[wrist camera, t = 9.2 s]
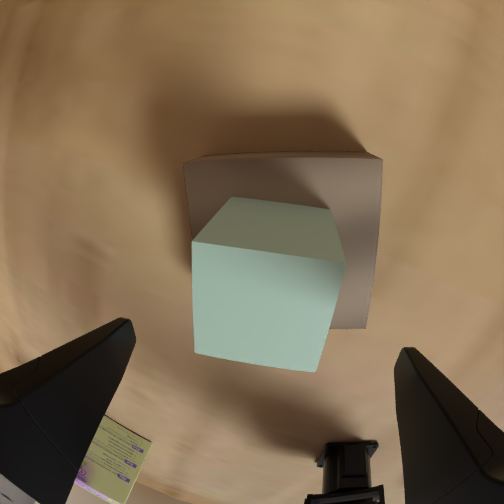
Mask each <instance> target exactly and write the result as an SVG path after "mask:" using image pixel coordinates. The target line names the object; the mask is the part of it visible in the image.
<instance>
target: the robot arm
mask: <svg viewBox="0 0 504 504" xmlns="http://www.w3.org/2000/svg"><path fill="white" fill-rule="evenodd" d="M135 343H136V336H135V332H134V328H133V325H132V322H131V320H130V319H127V318H122V317H120V318H117V319H115V320H113V321H111V322H109V323H107V324H105V325H103V326H101V327H99V328H97V329H95V330H93V331H91V332H89V333H87V334H85V335H83V336H81V337H78V338H76V339H74V340H72V341H70V342H68V343H66V344H64V345H62V346H60V347H58V348H56V349H54V350H52V351H50V352H48V353H46V354H44V355H42V356H41V357H38V358H36V359H34V360H31V361H29V362H27V363H25V364H23V365H21V366H18V367H16V368H13V369H11V370H8V371H6V372H3V373H1V374H0V504H35V502H36V501H37V502H38V503H40V504H65V503H66V501H67V498H68V496H69V493H70V491H71V489H72V486H73V483H74V481H75V479H76V477H77V474H78V472H79V469H80V467H81V465H82V462H83V460H84V458H85V456H86V453H87V451H88V449H89V447H90V445H91V442H92V440H93V438H94V436H95V434H96V431H97V429H98V427H99V425H100V423H101V421H102V419H103V417H104V414H105V412H106V410H107V408H108V406H109V404H110V402H111V400H112V398H113V396H114V394H115V392H116V390H117V388H118V386H119V384H120V382H121V380H122V377H123V375H124V373H125V370H126V367H127V364H128V362H129V359H130V356H131V354H132V351H133V349H134V346H135ZM394 381H395V400H396V415H397V422H398V429H399V437H400V445H401V454H402V464H403V475H404V489H405V504H504V432H503V431H502V430H501V429H499V428H498V427H497V426H496V425H495V424H494V423H493V422H492V421H491V420H490V419H489V418H488V417H487V416H486V415H485V414H484V413H483V412H482V411H481V410H478V408H477V407H476V406H475V405H474V404H473V403H472V402H471V401H470V400H469V399H468V398H467V397H466V396H465V395H464V394H463V393H462V392H461V391H460V390H459V389H458V388H457V387H456V386H455V385H454V384H453V383H452V382H451V381H450V380H449V379H448V378H447V377H446V376H445V375H444V374H442V373H441V372H440V371H439V370H438V369H437V368H436V367H435V366H434V365H433V364H432V363H431V362H430V361H429V360H428V359H427V358H426V357H424V356H423V355H422V354H421V353H420V352H419V351H418V350H417V349H416V348H414V347H404V348H402V350H401V352H400V354H399V357H398V359H397V361H396V364H395V367H394ZM378 447H379V445H378V443H377V442H374V443H328V444H326V445H325V447H324V449H323V452H322V454H321V456H320V458H319V460H318V462H317V467H323V488H322V494H315V495H313V494H308V495H307V498H306V499H305V502H304V504H385V500H384V487H383V485H379V486H376V487H371V468H370V458H371V457H372V455H373V454H374V452H375V451H376V450H377V448H378ZM378 500H379V502H377V501H378Z"/></svg>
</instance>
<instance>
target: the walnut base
mask: <svg viewBox="0 0 504 504" xmlns="http://www.w3.org/2000/svg"><path fill="white" fill-rule="evenodd" d="M382 165H383V159H381V158H379V157H376V156H374V155H372V154H370V153H368V152H344V151H280V152H253V153H235V154H220V155H207V156H202V157H199V158H197V159H194V160H191V161H189V162H186V163H183V169H184V178H185V186H186V195H187V203H188V210H189V218H190V225H191V233H192V240H193V239H194V238H195V237H196V236H197V235H198V234H199V232H200V231H201V230H202V229H203V228H204V227H205V226H206V225H207V223H208V222H209V221H210V220H211V219H212V218H213V217H214V216H215V214H216V213H217V212H218V211H219V210H220V209H221V208H222V207H223V206H224V204H225V203H226V202H227V201H228V200H229V199H230V198H231V197H241V198H250V199H258V200H266V201H274V202H282V203H289V204H296V205H304V206H311V207H317V208H324V209H331V212H332V215H333V219H334V222H335V225H336V229H337V232H338V235H339V239H340V242H341V246H342V249H343V253H344V256H345V260H346V267H345V271H344V275H343V279H342V283H341V287H340V291H339V295H338V299H337V302H336V306H335V310H334V313H333V317H332V320H331V324H330V327H329V329H366V324H367V318H368V312H369V306H370V300H371V294H372V287H373V280H374V272H375V264H376V255H377V246H378V236H379V224H380V210H381V193H382Z"/></svg>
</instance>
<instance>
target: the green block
mask: <svg viewBox="0 0 504 504" xmlns="http://www.w3.org/2000/svg"><path fill="white" fill-rule="evenodd" d="M345 267H346V260H345V256H344V253H343V249H342V246H341V242H340V239H339V235H338V232H337V229H336V225H335V222H334V219H333V215H332V212H331V209H324V208H317V207H311V206H304V205H296V204H289V203H282V202H274V201H266V200H258V199H250V198H241V197H231V198H230V199H229V200H228V201H227V202H226V203H225V204H224V206H223V207H222V208H221V209H220V210H219V211H218V212H217V213H216V214H215V216H214V217H213V218H212V219H211V220H210V221H209V222H208V223H207V225H206V226H205V227H204V228H203V229H202V230H201V231H200V232H199V234H198V235H197V236H196V237H195V238H194V239H193V240H192V297H193V326H194V348H195V353H198V354H202V355H207V356H212V357H217V358H222V359H227V360H233V361H238V362H244V363H250V364H256V365H262V366H269V367H276V368H283V369H290V370H298V371H307V372H316V369H317V366H318V363H319V360H320V357H321V354H322V351H323V347H324V344H325V341H326V338H327V334H328V331H329V327H330V324H331V320H332V317H333V313H334V310H335V306H336V302H337V299H338V295H339V291H340V287H341V283H342V279H343V275H344V271H345Z"/></svg>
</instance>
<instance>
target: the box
mask: <svg viewBox="0 0 504 504" xmlns="http://www.w3.org/2000/svg"><path fill="white" fill-rule="evenodd" d="M151 445H152V443H151V442H149V441H147V440H145V439H143V438H141V437H140V436H138V435H136V434H134V433H132V432H131V431H129V430H127V429H126V428H124V427H122V426H121V425H119V424H117V423H116V422H114V421H113V420H111V419H109V418H108V417H106V416H105V415H104V417H103V419H102V421H101V423H100V425H99V427H98V429H97V431H96V434H95V436H94V438H93V440H92V442H91V445H90V447H89V449H88V451H87V453H86V456H85V458H84V460H83V462H82V465H81V467H80V469H79V472H78V474H77V477H76V479H75V481H74V483H76V484H78V485H79V486H81V487H83V488H84V489H86V490H88V491H89V492H91V493H93V494H95V495H96V496H98V497H100V498H102V499H104V500H106V501H107V502H109V503H111V504H125V502H126V500H127V498H128V496H129V494H130V492H131V490H132V488H133V485H134V483H135V481H136V479H137V477H138V474H139V472H140V470H141V468H142V465H143V463H144V461H145V459H146V457H147V454H148V452H149V450H150V448H151Z"/></svg>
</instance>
